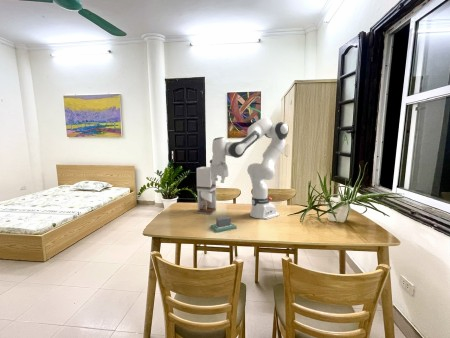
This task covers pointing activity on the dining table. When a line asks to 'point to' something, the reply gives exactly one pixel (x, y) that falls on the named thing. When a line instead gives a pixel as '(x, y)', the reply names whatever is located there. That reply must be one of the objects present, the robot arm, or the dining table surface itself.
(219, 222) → the block
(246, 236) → the dining table surface
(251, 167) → the robot arm
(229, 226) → the header board
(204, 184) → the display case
